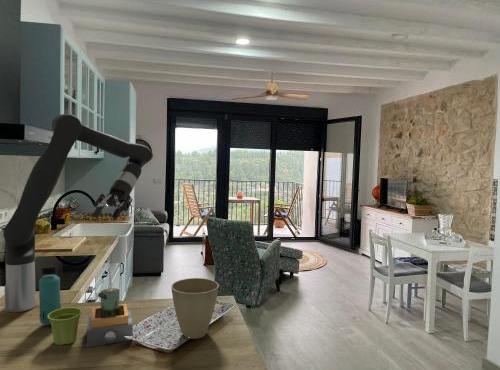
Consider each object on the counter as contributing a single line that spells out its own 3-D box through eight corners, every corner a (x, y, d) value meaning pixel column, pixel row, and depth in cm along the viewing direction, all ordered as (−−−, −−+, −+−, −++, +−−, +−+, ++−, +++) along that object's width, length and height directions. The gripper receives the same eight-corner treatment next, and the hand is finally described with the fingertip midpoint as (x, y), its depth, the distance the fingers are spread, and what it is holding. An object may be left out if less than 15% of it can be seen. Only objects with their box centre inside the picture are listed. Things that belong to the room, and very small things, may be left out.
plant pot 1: (89, 336, 120) (88, 309, 120) (65, 350, 111) (64, 321, 111) (65, 332, 123) (65, 305, 123) (40, 345, 114) (40, 316, 114)
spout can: (108, 314, 125) (108, 284, 124) (122, 317, 123) (123, 286, 123) (91, 323, 118) (91, 292, 117) (106, 326, 116) (106, 294, 115)
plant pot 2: (177, 348, 113) (177, 295, 112) (166, 328, 127) (166, 280, 126) (225, 339, 119) (225, 289, 118) (209, 321, 133) (210, 275, 132)
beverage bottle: (65, 321, 131) (64, 263, 130) (53, 329, 125) (52, 269, 123) (47, 320, 132) (46, 263, 131) (34, 328, 125) (33, 268, 124)
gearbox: (86, 349, 112) (86, 324, 112) (88, 329, 125) (88, 307, 125) (133, 342, 117) (132, 318, 116) (130, 324, 130) (130, 302, 129)
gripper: (104, 178, 154) (83, 210, 144) (134, 179, 149) (115, 212, 139) (113, 190, 159) (94, 222, 149) (142, 192, 154) (124, 224, 144)
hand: (104, 217), depth 144 cm, fingers open, 8 cm apart
